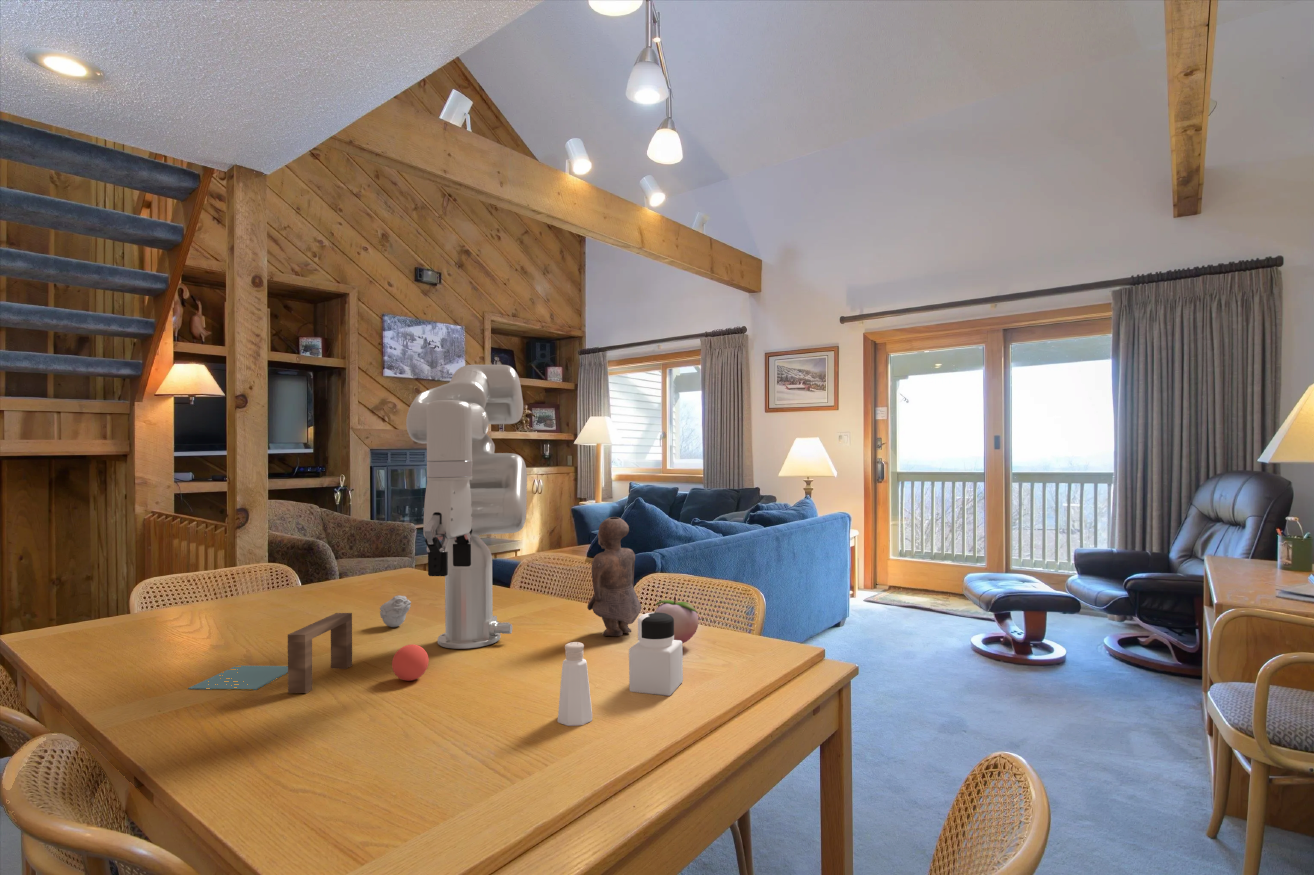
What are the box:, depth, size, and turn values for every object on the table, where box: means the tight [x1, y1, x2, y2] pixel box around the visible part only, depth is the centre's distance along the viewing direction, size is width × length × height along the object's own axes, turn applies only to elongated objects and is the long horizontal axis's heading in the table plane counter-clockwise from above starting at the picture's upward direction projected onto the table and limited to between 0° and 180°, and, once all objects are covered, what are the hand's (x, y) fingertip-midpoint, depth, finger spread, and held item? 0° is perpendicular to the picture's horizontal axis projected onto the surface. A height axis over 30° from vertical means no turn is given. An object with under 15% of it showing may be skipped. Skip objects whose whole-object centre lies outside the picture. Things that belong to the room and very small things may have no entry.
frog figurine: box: [379, 595, 412, 628], centre depth 156 cm, size 6×7×7 cm
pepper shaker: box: [557, 641, 593, 727], centre depth 102 cm, size 5×5×11 cm
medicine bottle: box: [628, 611, 684, 697], centre depth 115 cm, size 7×7×12 cm
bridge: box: [287, 612, 353, 694], centre depth 121 cm, size 3×15×10 cm, turn 176°
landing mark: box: [187, 665, 288, 691], centre depth 122 cm, size 12×12×1 cm
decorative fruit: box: [654, 596, 699, 645], centre depth 138 cm, size 9×8×10 cm
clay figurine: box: [587, 516, 642, 637], centre depth 148 cm, size 13×10×25 cm
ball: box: [391, 643, 430, 682], centre depth 120 cm, size 6×6×6 cm
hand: (450, 570), depth 119 cm, fingers open, 9 cm apart
